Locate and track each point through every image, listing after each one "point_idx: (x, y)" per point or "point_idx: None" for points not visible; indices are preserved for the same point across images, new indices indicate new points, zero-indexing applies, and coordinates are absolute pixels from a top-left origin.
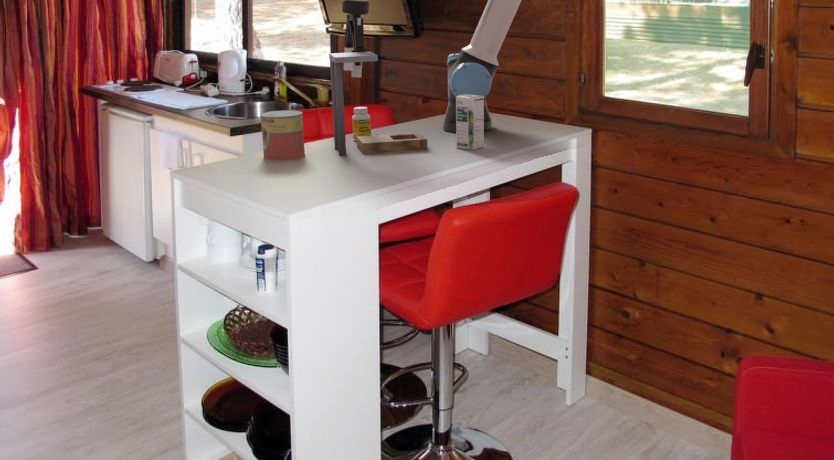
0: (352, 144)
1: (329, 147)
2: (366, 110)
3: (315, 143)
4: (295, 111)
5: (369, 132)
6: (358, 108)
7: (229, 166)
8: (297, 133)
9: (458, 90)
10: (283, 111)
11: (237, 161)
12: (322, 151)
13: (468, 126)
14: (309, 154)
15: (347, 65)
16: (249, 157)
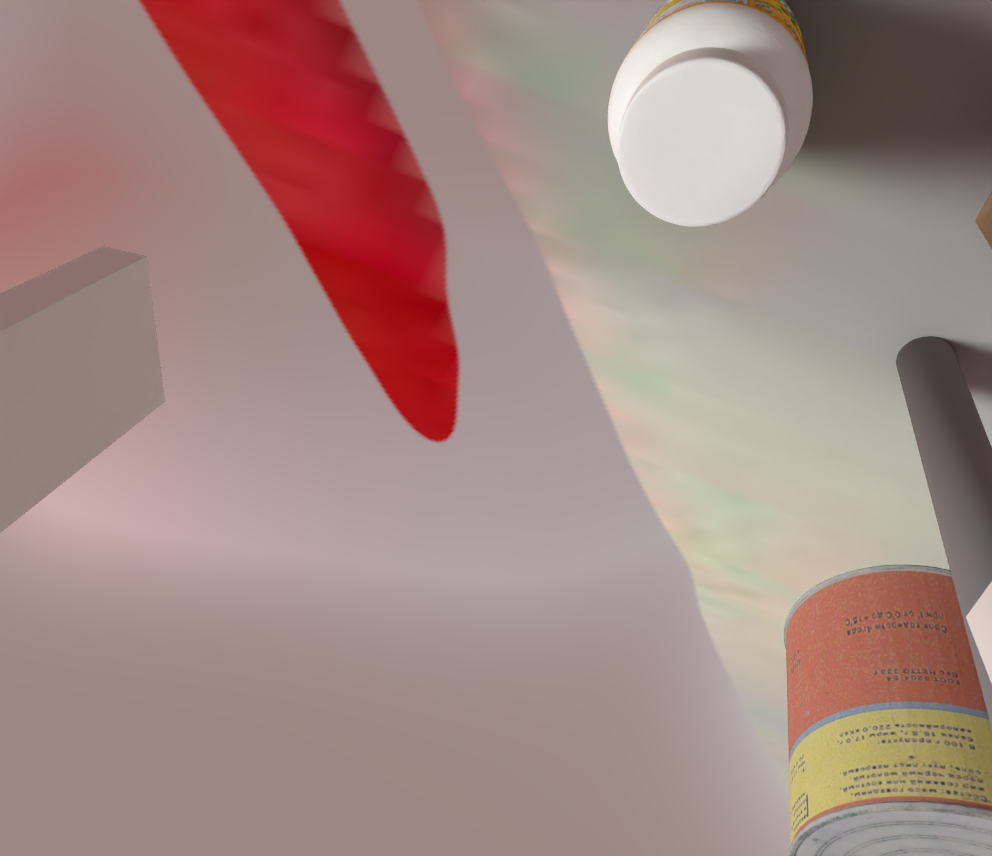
0: (840, 209)
1: (821, 380)
2: (776, 88)
3: (626, 392)
4: (928, 821)
5: (795, 22)
6: (731, 190)
7: None
8: None
9: None
10: (853, 844)
11: None
12: (916, 461)
13: None
14: (940, 543)
15: (102, 393)
16: (773, 716)
